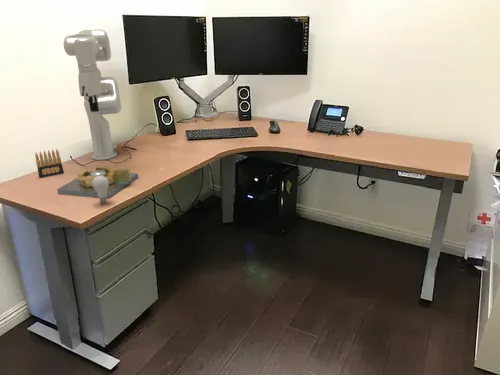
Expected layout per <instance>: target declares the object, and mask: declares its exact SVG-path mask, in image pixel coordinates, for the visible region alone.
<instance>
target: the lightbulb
mask: <svg viewBox="0 0 500 375" xmlns="http://www.w3.org/2000/svg"><path fill="white" fill-rule="evenodd" d="M92 186H93V188H94V189H95V190H96V192H97V193H98V197H97V198H99V201H100V202H101V203H106V202H107V200H108V198H106V196H107V189H108V186H109V181H108V179H107V178H106V177H104V176H97V177H96V178H94V180H93V182H92Z"/></svg>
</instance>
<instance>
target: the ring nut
mask: <svg viewBox="0 0 500 375" xmlns="http://www.w3.org/2000/svg"><path fill="white" fill-rule="evenodd" d="M130 169H131V168H129V167H128V168H127V167H126V168H118V167H117V168H112V167H111V166H110V165H97V166H96V167H95V168H92V169H91V168H90V169H82V170H80V171H78V173H77V178H78V181H79V184H80V185H82V186H84V187H93V186H92V182H93V180H94V178H96V177H97V176H91V174H90V173H91V172H92V171H96V170H104V171H105V175H106V176H105V177H106V178H107V179H108V181H109V184H112V183H113V182H115V181H130V180H131V175H130V173H131V170H130Z"/></svg>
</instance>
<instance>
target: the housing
mask: <svg viewBox="0 0 500 375" xmlns="http://www.w3.org/2000/svg"><path fill="white" fill-rule="evenodd" d="M90 174H91V176H104V177H105V176H106V175H105V171H104V170H96V171H92V172H91V173H90ZM130 175H131V180H130V181H115V182H113V183H112V184H109V186H108V189H107V196H106V198H107V199H111V198H112V197H114V195H116V194H117V193H119V192H121V191H122V190H124V188H126V187H127V186H128V185H129V184H131V183H133V182H134V181H136V180H137V179H138V178H139V173H137V172H135V173H134V172H130ZM56 191H57V194H58V195H69V196H78V197H91V198H99V197H98V193H97V192H96V190H95V189H94V188H93V187H84V186H82V185H80V184H79V181H78V177H76V178H75V179H73V180H71V181H69V182H68V183H66V184H64V185H62V186H61V187H59V188H57V190H56Z"/></svg>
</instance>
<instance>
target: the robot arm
mask: <svg viewBox="0 0 500 375" xmlns="http://www.w3.org/2000/svg"><path fill="white" fill-rule="evenodd" d="M63 48H64V49H63V50H64V51H65V53H66V54H67V56H70V57H75V58H76V59H75V60H76V61H77V67H78V72H79V73H78V74H77V76H78V88H79V95H80V96H81V97H83V106H84V109H85V112H86V115H87V120H88V126H89V131H90V137H91V141H92V148H93V154H92V155H91V159H92V160H97V161H106V160H110V159H113V158H116V157H117V155H118V153H117V151H114V150H116V149H117V147H118V146H117V145H116V144H113V143H112V142H113V141H112V134H111V129H110V122H109V120H108V119H107V118H106V117H104V115H113V114H118V113H120V112H121V110H122V102H121V96H120V90H119V85H118V82H117V80H116V78H114V77H113V76H109V77H108V76H106V77H103V76H102V72H101V69H99V68H98V66H97V65H98V64H97V62H107V61H109V60H111V58H112V51H111V42H110V39H109V36H108V33H107V32H106V31H105V30H104V29H83V30H81V31H79V32H78V33H74V34H72V35H71V34H70V35H66V36H65V37H64V39H63Z"/></svg>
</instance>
